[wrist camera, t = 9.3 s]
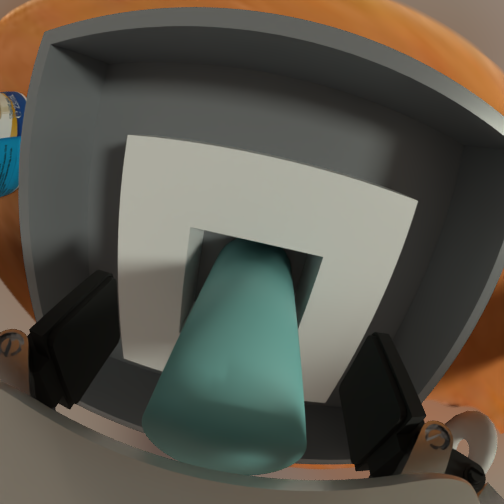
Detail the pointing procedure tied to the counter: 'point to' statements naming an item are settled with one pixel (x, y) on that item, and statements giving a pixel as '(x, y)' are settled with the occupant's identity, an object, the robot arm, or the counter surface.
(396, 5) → the counter surface
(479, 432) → the donut
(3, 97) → the beverage bottle
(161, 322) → the open box
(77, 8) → the counter surface
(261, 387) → the peg
